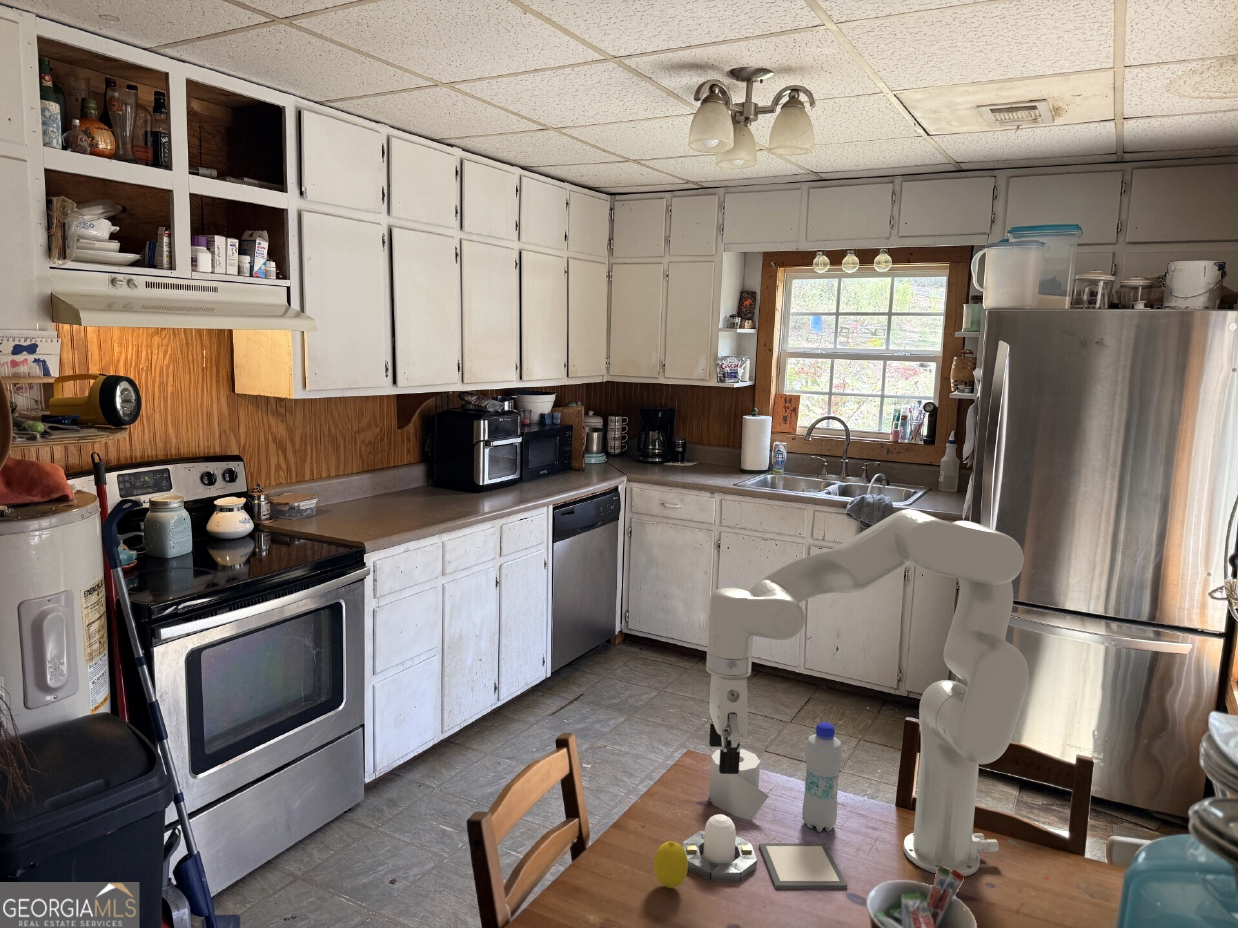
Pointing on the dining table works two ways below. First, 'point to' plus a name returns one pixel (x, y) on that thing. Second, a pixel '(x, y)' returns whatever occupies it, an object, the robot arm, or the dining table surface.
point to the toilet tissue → (737, 786)
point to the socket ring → (720, 870)
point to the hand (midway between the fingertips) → (723, 758)
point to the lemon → (670, 864)
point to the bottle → (822, 778)
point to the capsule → (719, 839)
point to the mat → (802, 866)
